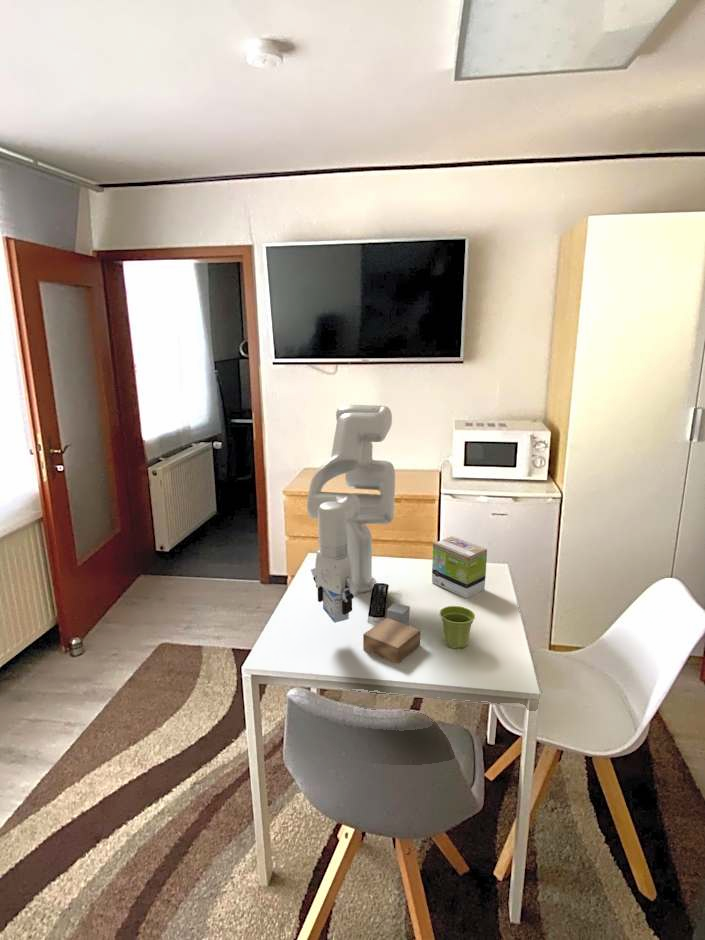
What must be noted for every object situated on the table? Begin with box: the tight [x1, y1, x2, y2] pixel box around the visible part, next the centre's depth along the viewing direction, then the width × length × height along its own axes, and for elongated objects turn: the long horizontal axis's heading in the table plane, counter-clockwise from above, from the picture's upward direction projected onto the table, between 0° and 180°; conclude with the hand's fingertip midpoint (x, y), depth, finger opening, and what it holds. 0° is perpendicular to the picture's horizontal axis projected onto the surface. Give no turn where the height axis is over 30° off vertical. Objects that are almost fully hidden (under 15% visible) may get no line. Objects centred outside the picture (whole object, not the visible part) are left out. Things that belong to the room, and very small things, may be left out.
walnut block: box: [362, 617, 421, 665], centre depth 154 cm, size 11×11×5 cm
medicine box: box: [322, 588, 350, 624], centre depth 155 cm, size 8×4×9 cm, turn 26°
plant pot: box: [439, 605, 476, 649], centre depth 156 cm, size 9×9×9 cm
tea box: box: [431, 536, 488, 599], centre depth 188 cm, size 15×10×15 cm
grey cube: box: [386, 602, 411, 625], centre depth 166 cm, size 5×5×5 cm
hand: (334, 606), depth 156 cm, fingers closed on medicine box, 9 cm apart
